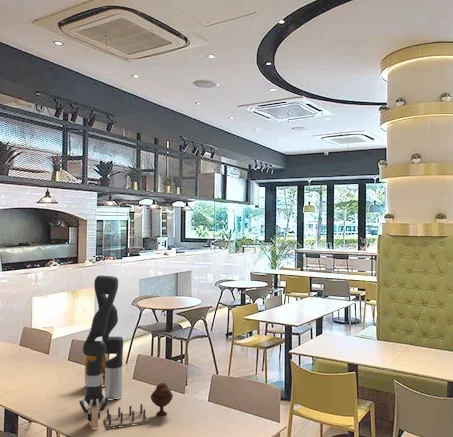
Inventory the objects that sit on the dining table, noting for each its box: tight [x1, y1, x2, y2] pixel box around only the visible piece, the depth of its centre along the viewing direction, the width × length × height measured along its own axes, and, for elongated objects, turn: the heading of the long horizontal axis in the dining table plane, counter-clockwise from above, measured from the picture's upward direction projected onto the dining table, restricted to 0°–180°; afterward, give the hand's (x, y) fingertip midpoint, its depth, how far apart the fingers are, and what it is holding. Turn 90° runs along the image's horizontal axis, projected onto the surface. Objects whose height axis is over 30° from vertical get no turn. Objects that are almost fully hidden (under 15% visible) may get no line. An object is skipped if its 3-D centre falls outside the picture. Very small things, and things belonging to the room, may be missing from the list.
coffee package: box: [84, 354, 107, 385], centre depth 270 cm, size 10×12×22 cm
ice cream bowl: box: [150, 382, 174, 417], centre depth 229 cm, size 11×11×15 cm
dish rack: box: [103, 403, 149, 429], centre depth 221 cm, size 12×19×6 cm, turn 112°
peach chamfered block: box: [89, 405, 99, 430], centre depth 216 cm, size 10×3×10 cm, turn 22°
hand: (93, 420), depth 216 cm, fingers closed on peach chamfered block, 2 cm apart
